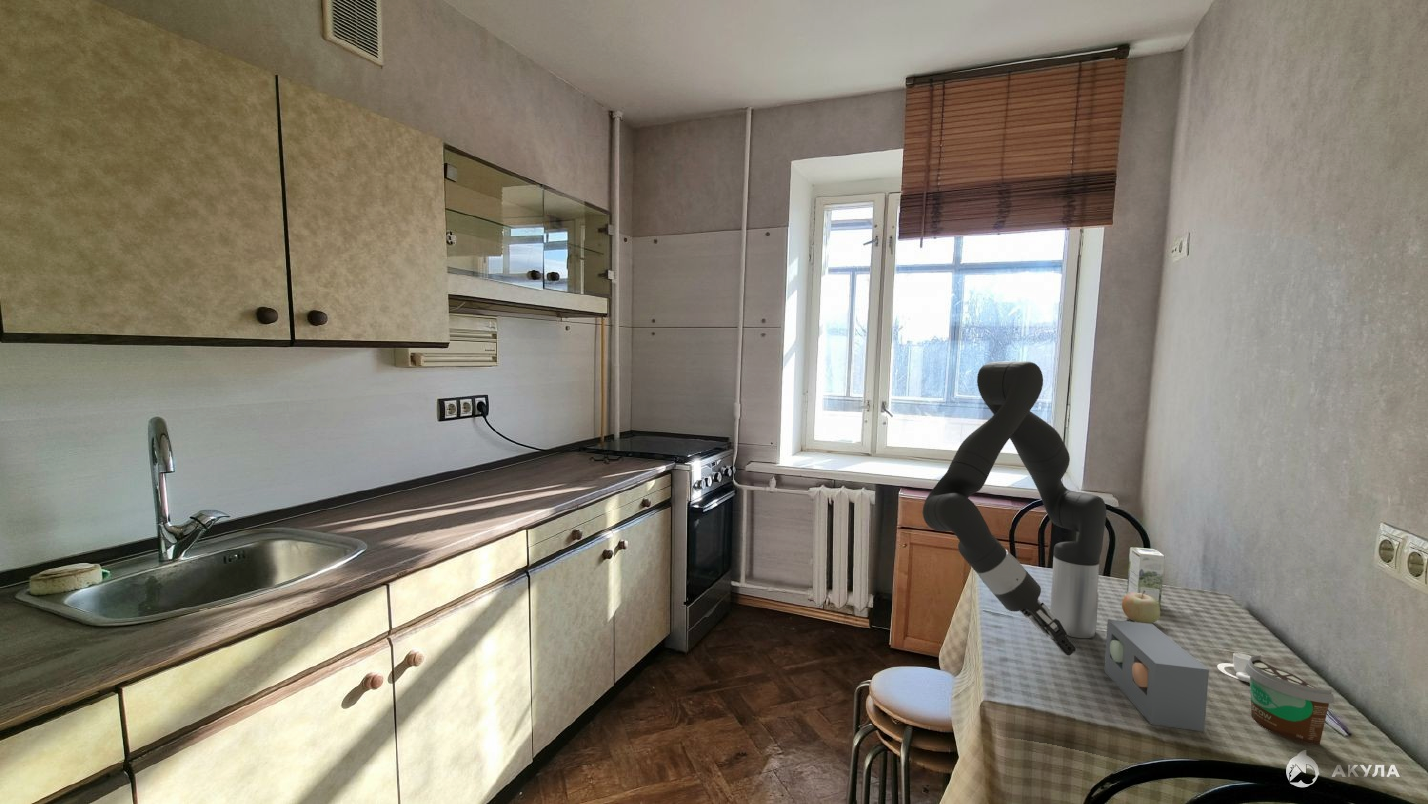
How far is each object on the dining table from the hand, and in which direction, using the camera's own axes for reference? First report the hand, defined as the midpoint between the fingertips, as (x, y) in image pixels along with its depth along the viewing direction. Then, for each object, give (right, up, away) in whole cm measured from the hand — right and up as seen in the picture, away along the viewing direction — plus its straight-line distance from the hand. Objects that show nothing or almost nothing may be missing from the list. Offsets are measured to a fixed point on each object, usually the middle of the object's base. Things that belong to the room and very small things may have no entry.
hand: (1070, 651), depth 106 cm
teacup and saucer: (+40, -10, +11) cm, 42 cm away
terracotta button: (+12, -5, -3) cm, 14 cm away
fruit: (+39, -8, +35) cm, 53 cm away
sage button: (+14, -5, +6) cm, 16 cm away
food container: (+31, -11, -7) cm, 34 cm away
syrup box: (+49, -8, +47) cm, 68 cm away
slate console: (+16, -9, +1) cm, 18 cm away
